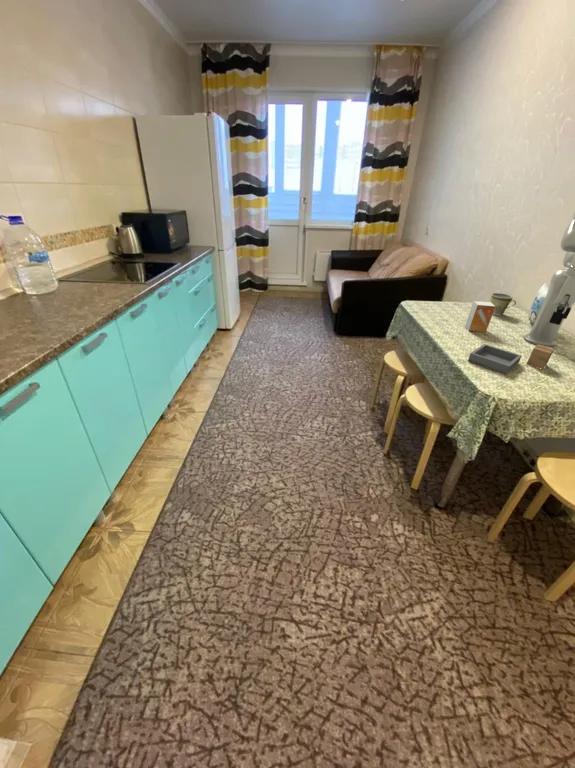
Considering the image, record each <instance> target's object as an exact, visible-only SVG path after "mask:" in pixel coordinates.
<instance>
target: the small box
mask: <svg viewBox="0 0 575 768" xmlns="http://www.w3.org/2000/svg"><path fill="white" fill-rule="evenodd" d="M495 307H496V306H495V305H493V304H492V303H491V301H475V300H473V301H472V304H471V306H470V310H469V312H468V317H467V319H466V321H465V325H464V327H465V328H466V329H468V330H467V331H468V332H479V333H486V332H487V330H488V328H489V326H490V322H491V319H492V317H493V316H494V315H493V312H494V310H495Z"/></svg>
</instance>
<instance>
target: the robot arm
mask: <svg viewBox="0 0 575 768" xmlns="http://www.w3.org/2000/svg"><path fill="white" fill-rule="evenodd" d="M560 249H561V250H562V251H563V252H565V254H564V257H563V260H562V266H563V267H564V268H563V269H558V270H557V271H555V272H554V273H553V274H552V276H551V278H550V282H549V285H548V287H549V289H548V292H547V295H546V297H545V300H544V302H543V304H542V307H541V309H540V311H539V313H538V316H537V318H536V320H535V322H534V325H532V327H531V329H530V331H529V333H526V334H524V336H523V339H524V340H525V341H526V342H528V343H530V344H533V345H536V346H537V345H538V344H539V345H542V346H546V347H549V348H553V347H556V346H557V344H558V342H557V339H556V336H557V334H558V332H559V330H560V329H561V326H562V324H563V323H564V321H565V320H567V318H568V316H569V314H570V312H571V310H572V307H573V306H574V305H575V212H574V213H573V217H572V221H570V222H569V224H568V225H567V227H566V229H565V230H564V233H563V236H562V238H561V241H560Z"/></svg>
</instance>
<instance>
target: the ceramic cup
mask: <svg viewBox="0 0 575 768" xmlns="http://www.w3.org/2000/svg"><path fill="white" fill-rule="evenodd" d="M513 298H514V297H513V296H512V295H510V294H506V293H500V292H494V293H491V297H490V302H491V303H492V304H493V305H495V306H496V307H495V310H494V312H493V315H492V316H498V317H499V316H503V315H504V314H505V312H506V310H507V309H509V308H512V307H514V306H515V305H516V304H517V302H516V300H514V299H513ZM511 302H514V304H512V305H510V304H511ZM509 305H510V306H509Z"/></svg>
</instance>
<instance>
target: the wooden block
mask: <svg viewBox="0 0 575 768" xmlns="http://www.w3.org/2000/svg"><path fill="white" fill-rule="evenodd" d="M554 351H555V348H553V347H546V346H542V345H539V344H538V345H536V346H534V348H533V349H532V350H531V354H530V355H529V357H528V360H527V361H526V365H527V366H531V365H532V366H531V367H534V366H535V367H534V368H537V367H538V369H540V368H541V370H543V369H544V368H545V367H546V366H547V365H548V363H549V361H550V360H551V356H552V354H553V353H554Z"/></svg>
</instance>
